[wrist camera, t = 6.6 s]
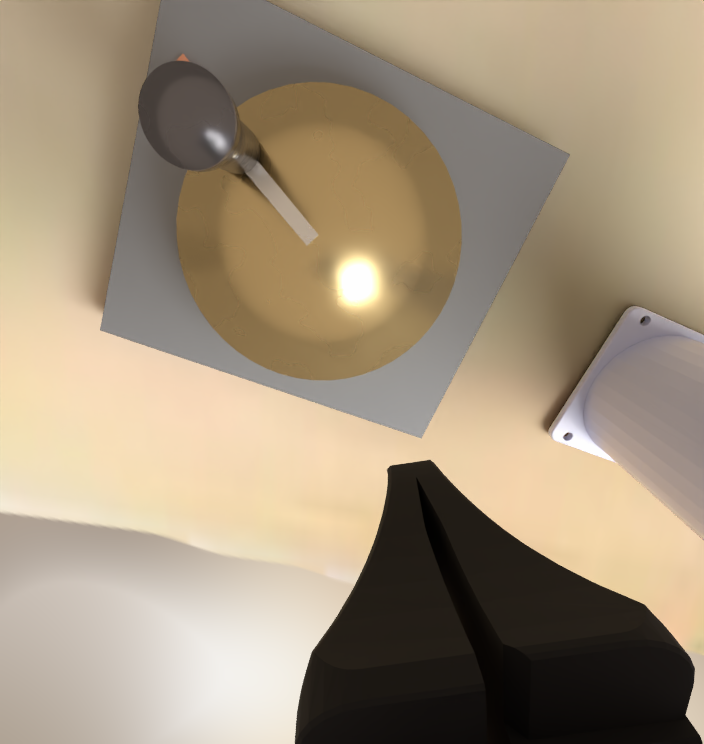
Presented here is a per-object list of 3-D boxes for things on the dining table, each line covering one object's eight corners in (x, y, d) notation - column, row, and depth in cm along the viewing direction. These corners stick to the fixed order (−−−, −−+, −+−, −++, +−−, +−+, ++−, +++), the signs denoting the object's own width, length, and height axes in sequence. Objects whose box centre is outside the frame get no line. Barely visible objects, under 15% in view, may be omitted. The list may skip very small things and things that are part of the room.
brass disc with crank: (500, 263, 18) (592, 292, 11) (312, 410, 20) (302, 503, 14) (334, 16, 14) (335, -139, 8) (130, 227, 17) (5, 238, 10)
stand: (551, 158, 18) (572, 154, 16) (415, 424, 22) (421, 439, 21) (184, -25, 15) (167, -52, 13) (116, 321, 20) (98, 331, 18)
